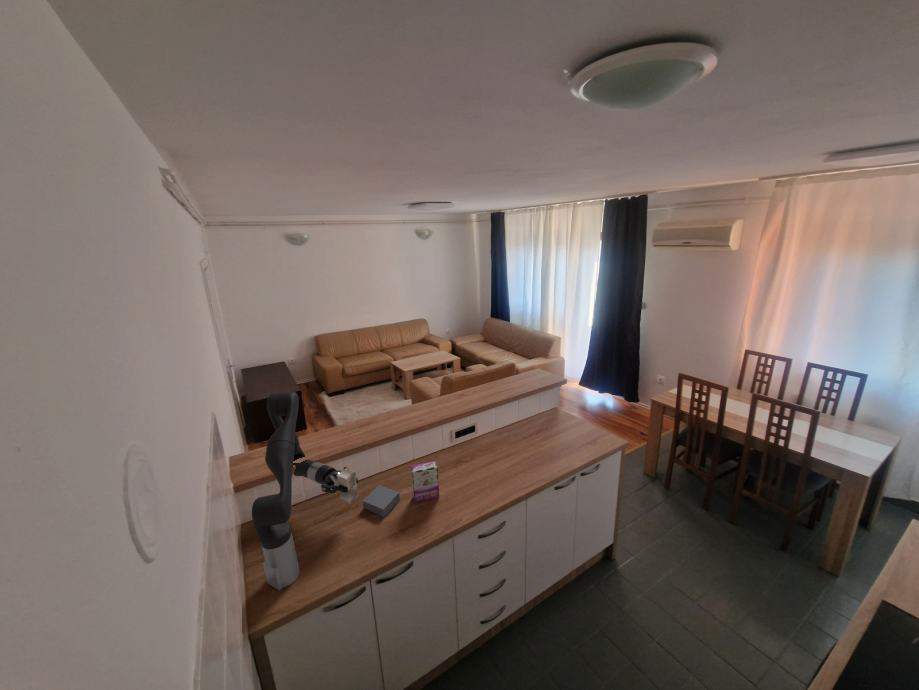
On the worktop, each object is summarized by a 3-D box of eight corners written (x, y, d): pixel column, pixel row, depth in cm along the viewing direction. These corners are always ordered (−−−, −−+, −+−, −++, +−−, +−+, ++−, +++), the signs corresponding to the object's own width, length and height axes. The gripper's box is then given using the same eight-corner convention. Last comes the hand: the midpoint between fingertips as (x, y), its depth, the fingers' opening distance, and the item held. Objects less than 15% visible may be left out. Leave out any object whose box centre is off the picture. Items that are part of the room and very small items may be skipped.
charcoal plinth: (384, 517, 151) (383, 509, 149) (363, 508, 155) (362, 500, 154) (399, 499, 160) (399, 492, 159) (379, 492, 165) (379, 484, 163)
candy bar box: (437, 490, 165) (435, 460, 160) (439, 498, 160) (438, 467, 155) (412, 495, 162) (410, 465, 157) (414, 503, 158) (412, 472, 152)
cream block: (349, 504, 145) (346, 478, 141) (340, 500, 147) (336, 475, 143) (358, 496, 149) (355, 471, 145) (348, 492, 151) (345, 468, 147)
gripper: (306, 476, 145) (338, 489, 137) (333, 456, 157) (363, 467, 149) (309, 491, 147) (340, 505, 140) (335, 471, 159) (365, 482, 152)
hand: (352, 485), depth 145 cm, fingers closed on cream block, 5 cm apart
